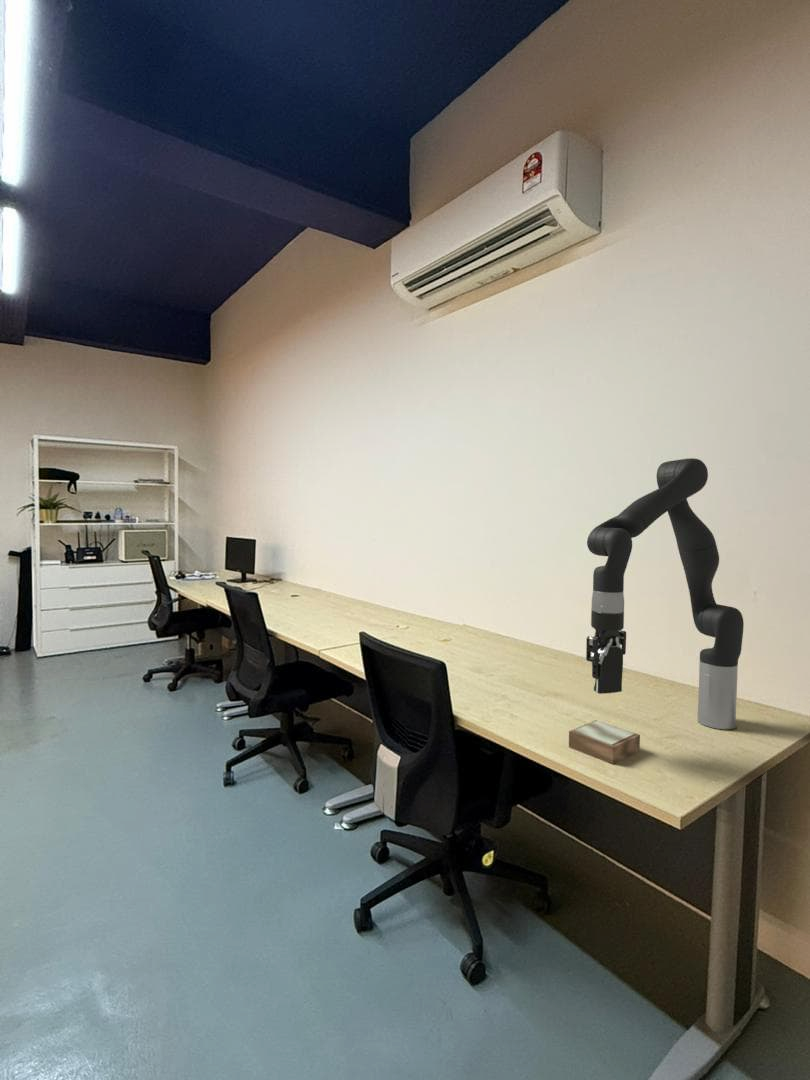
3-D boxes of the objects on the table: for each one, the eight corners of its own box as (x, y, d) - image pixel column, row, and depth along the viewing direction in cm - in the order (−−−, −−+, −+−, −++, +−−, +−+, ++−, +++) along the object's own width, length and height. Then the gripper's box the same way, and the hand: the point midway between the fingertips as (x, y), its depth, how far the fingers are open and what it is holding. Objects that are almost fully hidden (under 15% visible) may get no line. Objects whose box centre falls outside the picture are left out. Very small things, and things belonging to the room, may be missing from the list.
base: (595, 735, 145) (596, 719, 145) (639, 750, 135) (639, 733, 135) (568, 747, 137) (569, 730, 137) (612, 764, 128) (613, 746, 128)
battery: (613, 687, 139) (614, 642, 138) (623, 692, 135) (624, 646, 134) (589, 690, 137) (590, 644, 136) (598, 695, 133) (599, 648, 132)
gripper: (609, 604, 142) (608, 667, 143) (577, 610, 133) (575, 677, 134) (637, 608, 136) (635, 674, 137) (605, 614, 127) (603, 684, 128)
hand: (605, 675), depth 136 cm, fingers closed on battery, 7 cm apart
